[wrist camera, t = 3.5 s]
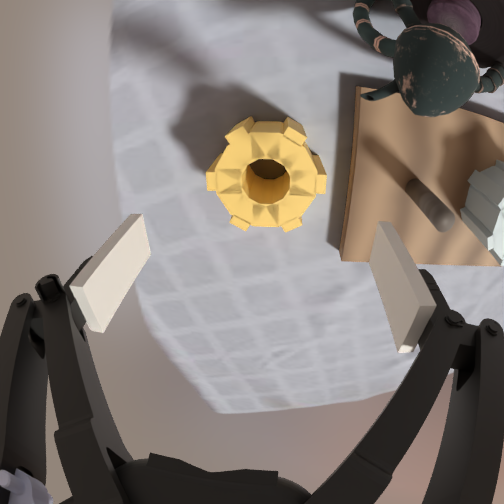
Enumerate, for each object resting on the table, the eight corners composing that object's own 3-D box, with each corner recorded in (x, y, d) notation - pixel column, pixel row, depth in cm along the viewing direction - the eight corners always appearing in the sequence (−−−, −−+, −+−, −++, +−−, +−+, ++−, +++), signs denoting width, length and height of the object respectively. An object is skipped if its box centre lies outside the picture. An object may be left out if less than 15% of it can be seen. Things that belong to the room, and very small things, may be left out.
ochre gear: (223, 202, 31) (211, 230, 26) (218, 116, 26) (202, 127, 21) (315, 204, 30) (320, 234, 25) (320, 118, 25) (329, 128, 20)
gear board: (339, 250, 33) (352, 306, 25) (355, 86, 23) (387, 91, 15) (495, 258, 30) (526, 300, 23) (529, 134, 21) (577, 159, 13)
